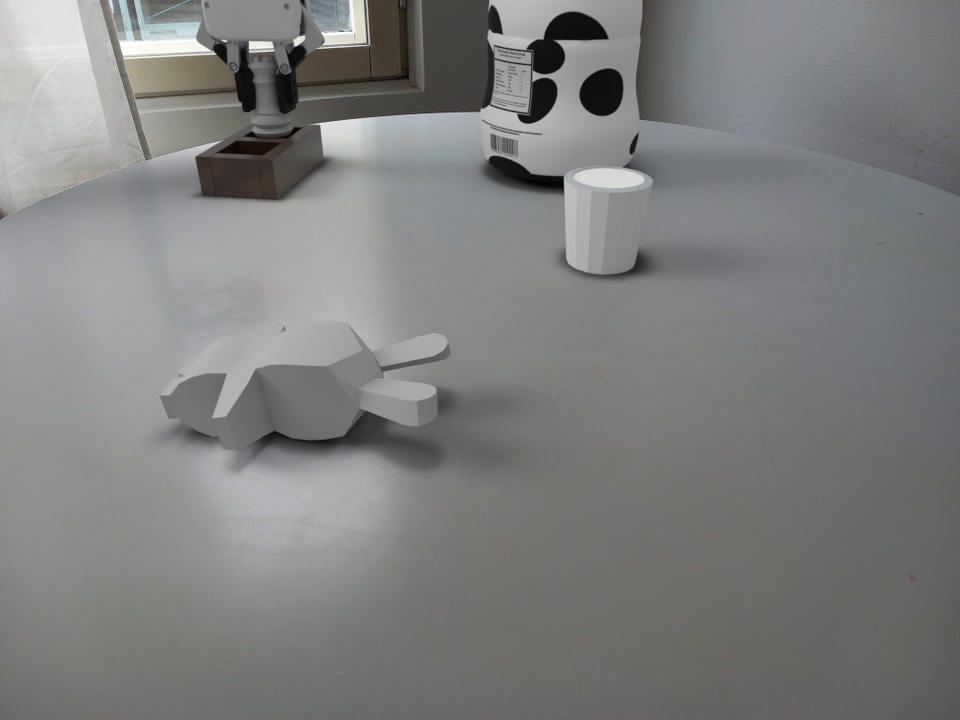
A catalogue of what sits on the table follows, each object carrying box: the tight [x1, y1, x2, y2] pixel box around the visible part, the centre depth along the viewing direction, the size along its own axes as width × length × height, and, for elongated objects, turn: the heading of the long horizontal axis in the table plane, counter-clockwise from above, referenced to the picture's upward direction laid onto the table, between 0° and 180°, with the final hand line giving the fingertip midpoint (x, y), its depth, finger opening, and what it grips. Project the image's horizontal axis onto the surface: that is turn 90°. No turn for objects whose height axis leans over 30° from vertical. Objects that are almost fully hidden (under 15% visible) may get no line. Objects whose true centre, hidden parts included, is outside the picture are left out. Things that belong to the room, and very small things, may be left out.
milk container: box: [478, 0, 643, 183], centre depth 78 cm, size 17×17×18 cm
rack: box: [194, 122, 325, 200], centre depth 80 cm, size 8×14×4 cm, turn 172°
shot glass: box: [563, 166, 654, 275], centre depth 59 cm, size 7×7×7 cm
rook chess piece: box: [248, 53, 293, 138], centre depth 79 cm, size 4×4×8 cm
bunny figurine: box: [159, 320, 452, 452], centre depth 41 cm, size 10×5×15 cm
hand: (269, 108), depth 80 cm, fingers closed on rook chess piece, 3 cm apart
